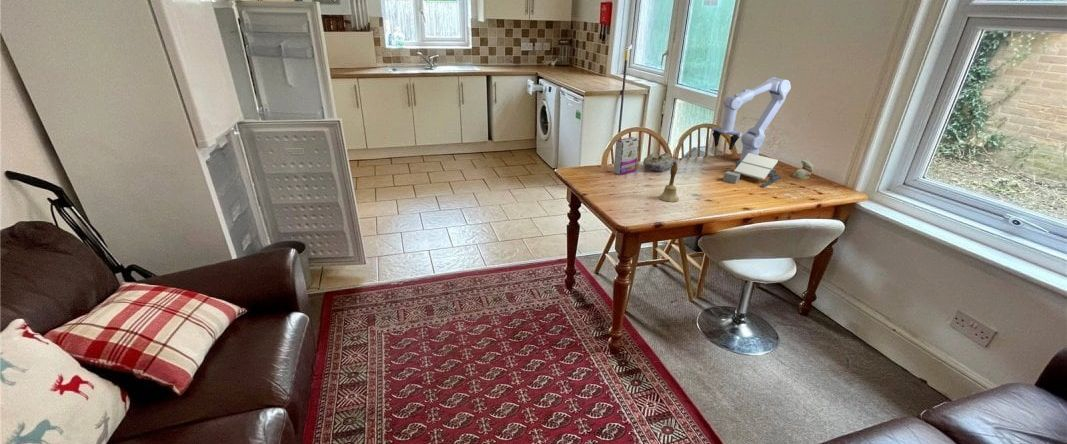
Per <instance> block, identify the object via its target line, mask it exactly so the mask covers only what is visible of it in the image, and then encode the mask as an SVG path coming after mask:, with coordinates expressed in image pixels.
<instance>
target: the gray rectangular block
mask: <svg viewBox="0 0 1067 444" xmlns="http://www.w3.org/2000/svg"><path fill="white" fill-rule="evenodd" d="M741 175H742V174H739V173H734V172H733V171H730V170H727V171H725V172H724V173H723V178H722V181H723V182H726V183H730V184H734V185H736V184H738V183H739V182H740V178H741Z"/></svg>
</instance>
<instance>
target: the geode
mask: <svg viewBox="0 0 1067 444" xmlns="http://www.w3.org/2000/svg"><path fill="white" fill-rule="evenodd" d="M642 162H643V163H642V165H644V167H645V168H646V169H647V170H648V171H649V170H651V171H652V170H653V171H655V172H656V171H657V172H660V173H663V172H665V171H667V170H668V171H670V170H671V167H672V165H673V163H674V162H677V158H676V159H675V158H673V156H672V155H671V154H670V153H667V152H663V154H660V155H658V154H657V155H654V153H650V154H649V155H647V156H646V157H645V158H644V159H643V161H642Z"/></svg>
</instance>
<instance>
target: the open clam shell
mask: <svg viewBox="0 0 1067 444" xmlns="http://www.w3.org/2000/svg"><path fill="white" fill-rule="evenodd" d="M800 162H801V164H802V167H801V168H798V169H797V170H795V171H794V173H793V174H792V175H791V177H792V178H795V179H801V180H808V179H810V176H811V175H812V174H813V171H814V168H815V165H814V164H812V163H811V161H810V160H809V158H807V157H805V158H804V159H802V160H801V161H800Z"/></svg>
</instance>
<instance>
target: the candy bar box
mask: <svg viewBox="0 0 1067 444" xmlns="http://www.w3.org/2000/svg"><path fill="white" fill-rule="evenodd" d="M615 141H616V142H615V149H614V159H613V170H612V171H613V173H614V174H615V173H616V175H618V176H623V175H625V174H629V173H634V172H636V170H637V161H638V151H639V143H640V138H637V137H634V136H630V137H625V138H619V139H616V140H615Z"/></svg>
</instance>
